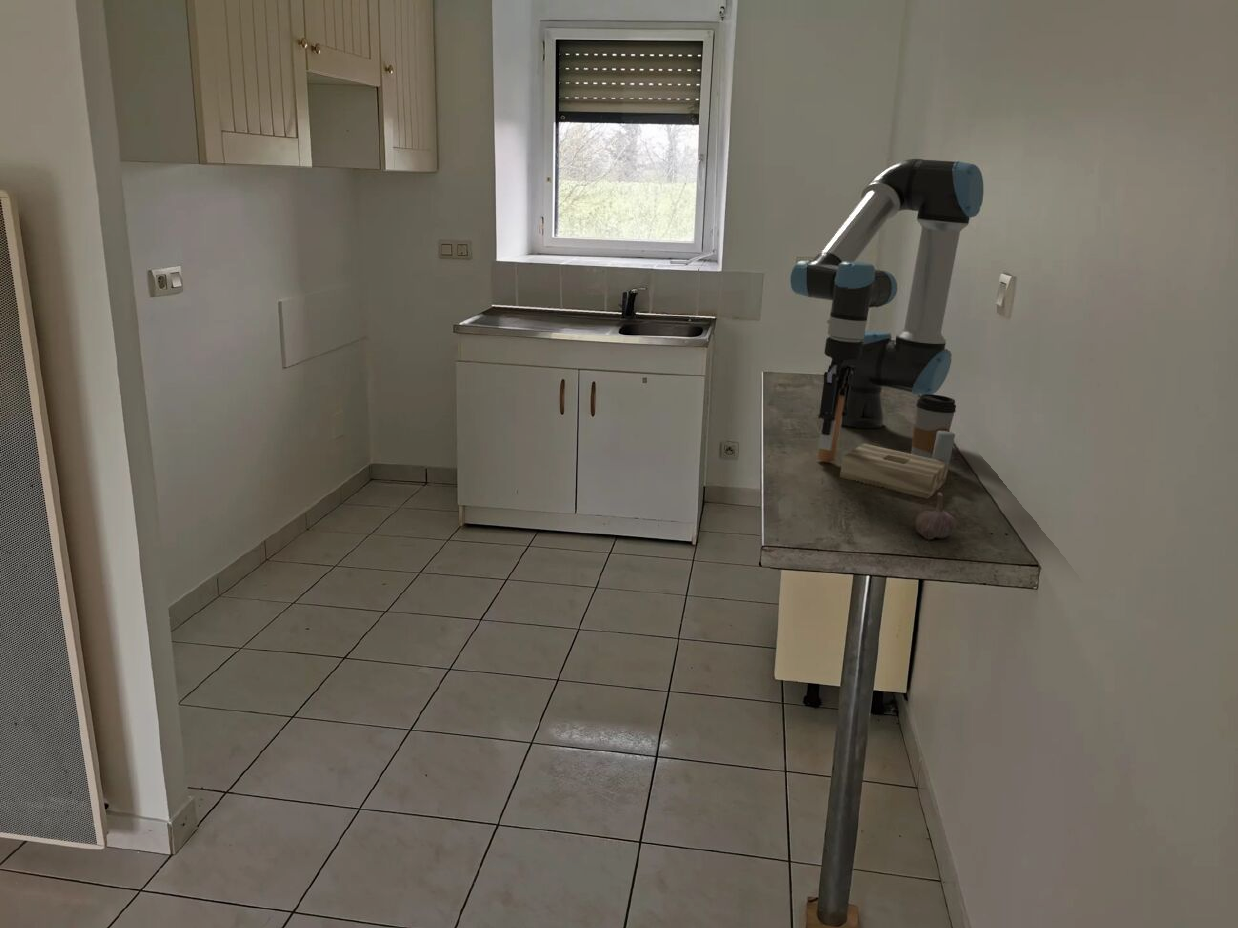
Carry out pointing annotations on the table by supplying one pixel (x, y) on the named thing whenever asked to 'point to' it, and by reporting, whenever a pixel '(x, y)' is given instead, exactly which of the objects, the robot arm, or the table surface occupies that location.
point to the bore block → (894, 470)
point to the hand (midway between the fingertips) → (827, 446)
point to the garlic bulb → (935, 522)
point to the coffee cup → (931, 422)
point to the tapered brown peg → (830, 455)
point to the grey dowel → (943, 446)
